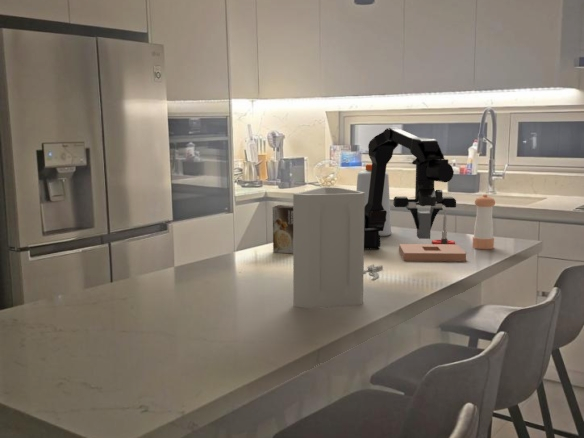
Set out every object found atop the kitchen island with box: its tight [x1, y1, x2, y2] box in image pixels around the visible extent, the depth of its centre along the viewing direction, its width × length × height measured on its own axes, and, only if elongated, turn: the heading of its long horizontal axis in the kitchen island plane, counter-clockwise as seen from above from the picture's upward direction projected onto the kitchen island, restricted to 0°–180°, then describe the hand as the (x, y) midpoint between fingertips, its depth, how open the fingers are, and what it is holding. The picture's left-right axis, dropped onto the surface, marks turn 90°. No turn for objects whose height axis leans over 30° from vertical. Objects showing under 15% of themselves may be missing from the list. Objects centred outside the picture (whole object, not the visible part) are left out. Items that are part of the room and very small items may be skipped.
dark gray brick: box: [416, 210, 432, 240], centre depth 208 cm, size 4×5×8 cm
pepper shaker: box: [472, 194, 496, 250], centre depth 238 cm, size 7×7×19 cm
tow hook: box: [431, 210, 456, 244], centre depth 246 cm, size 8×13×9 cm
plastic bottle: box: [355, 163, 392, 237], centre depth 267 cm, size 15×15×28 cm
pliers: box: [363, 263, 384, 281], centre depth 199 cm, size 10×2×15 cm
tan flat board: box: [398, 243, 467, 262], centre depth 224 cm, size 20×16×2 cm
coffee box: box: [271, 204, 293, 255], centre depth 231 cm, size 9×6×16 cm
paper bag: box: [292, 186, 365, 309], centre depth 168 cm, size 19×15×28 cm
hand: (423, 229), depth 208 cm, fingers closed on dark gray brick, 3 cm apart
